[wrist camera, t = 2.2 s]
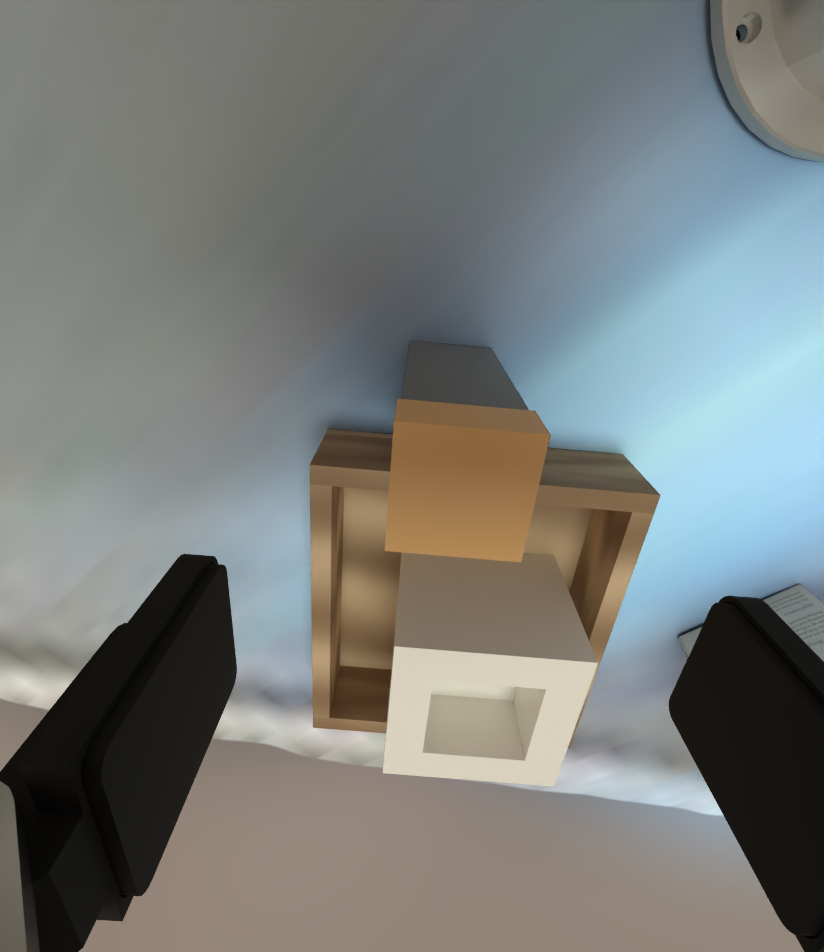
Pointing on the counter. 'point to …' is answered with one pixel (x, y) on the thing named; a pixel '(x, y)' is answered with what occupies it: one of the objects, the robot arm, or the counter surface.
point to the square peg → (462, 457)
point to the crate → (377, 571)
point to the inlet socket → (485, 670)
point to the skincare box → (788, 618)
